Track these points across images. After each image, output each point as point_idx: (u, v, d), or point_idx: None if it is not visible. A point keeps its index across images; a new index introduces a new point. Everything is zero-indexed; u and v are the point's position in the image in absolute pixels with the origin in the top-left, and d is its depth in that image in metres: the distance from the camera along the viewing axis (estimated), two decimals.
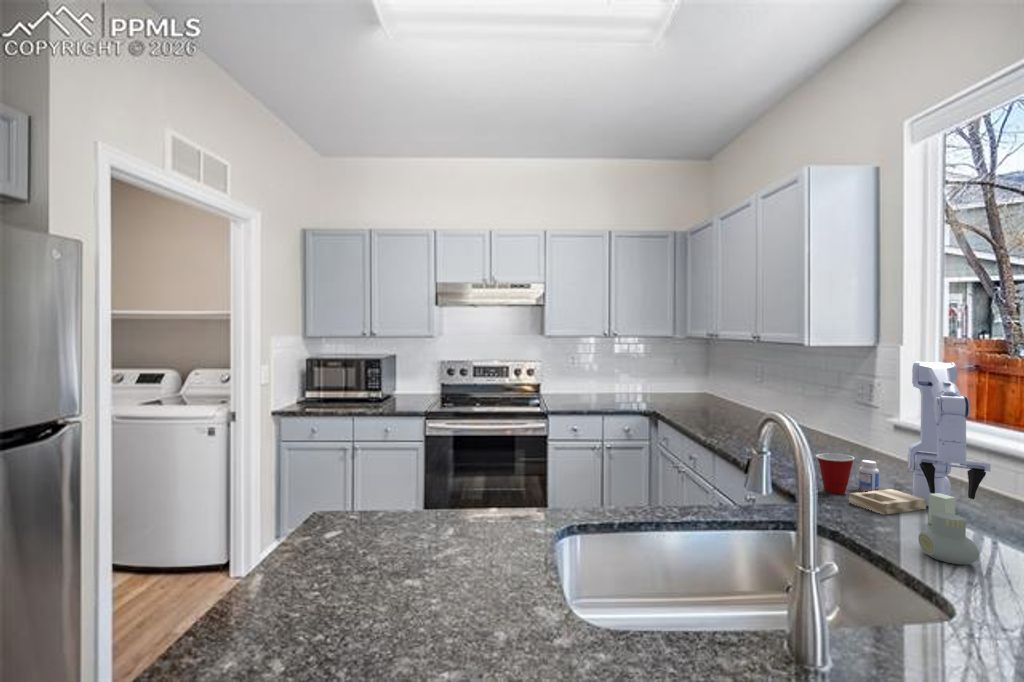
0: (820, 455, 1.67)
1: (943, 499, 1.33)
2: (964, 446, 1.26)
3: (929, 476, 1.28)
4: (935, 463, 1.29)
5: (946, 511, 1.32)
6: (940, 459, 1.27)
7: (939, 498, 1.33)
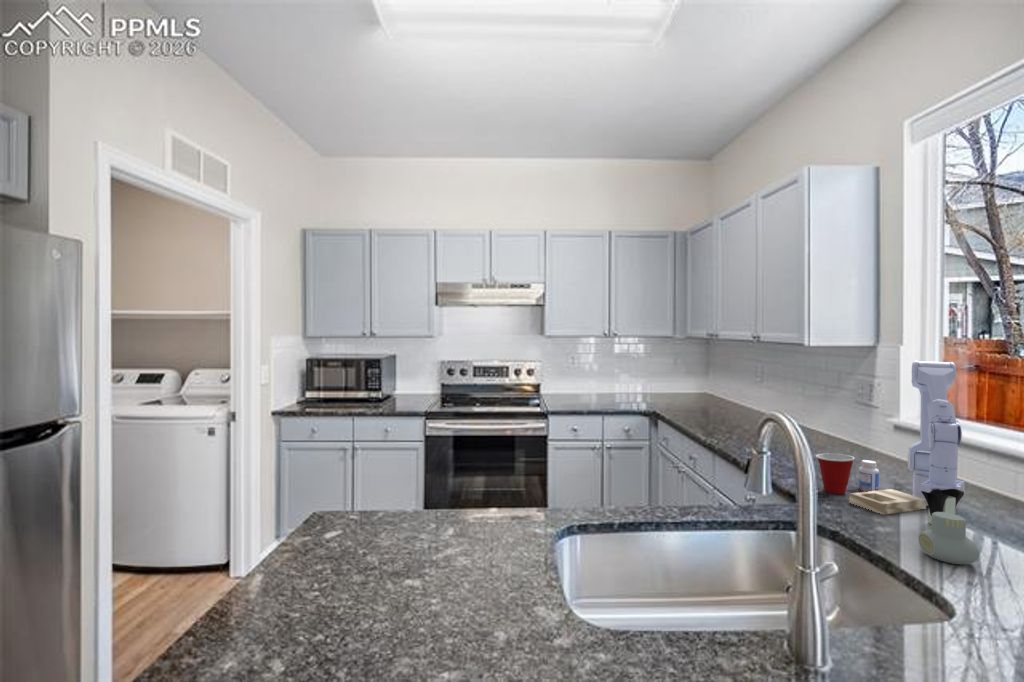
0: (820, 455, 1.67)
1: None
2: None
3: (941, 503, 1.32)
4: (935, 489, 1.33)
5: (946, 511, 1.32)
6: (945, 486, 1.32)
7: None
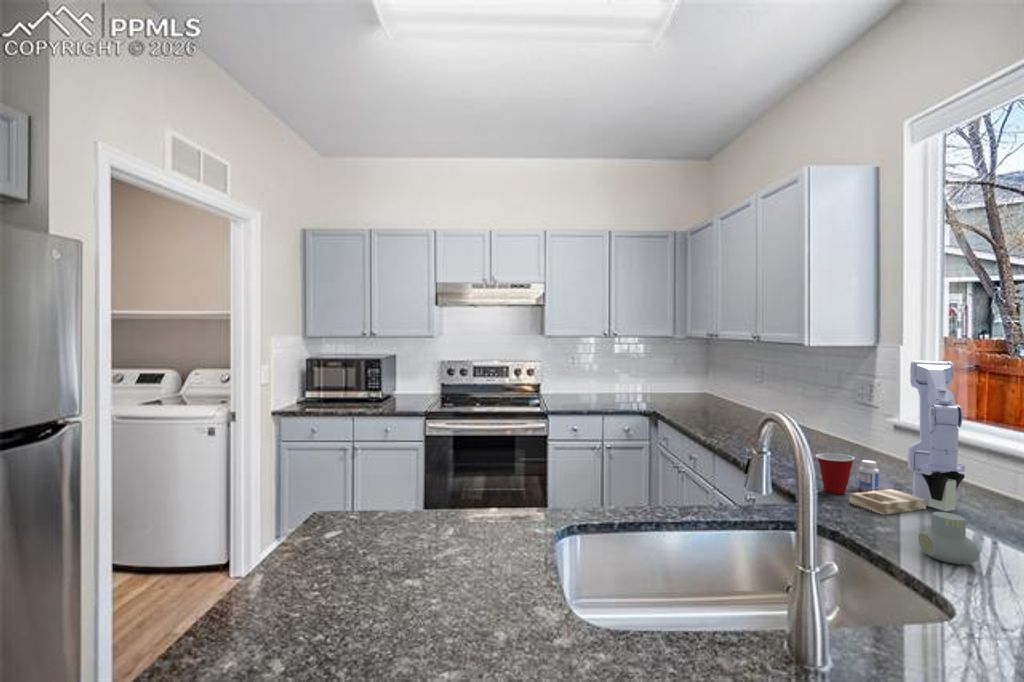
0: (820, 455, 1.67)
1: None
2: None
3: (942, 486, 1.32)
4: (936, 472, 1.33)
5: (947, 494, 1.32)
6: (946, 469, 1.32)
7: None
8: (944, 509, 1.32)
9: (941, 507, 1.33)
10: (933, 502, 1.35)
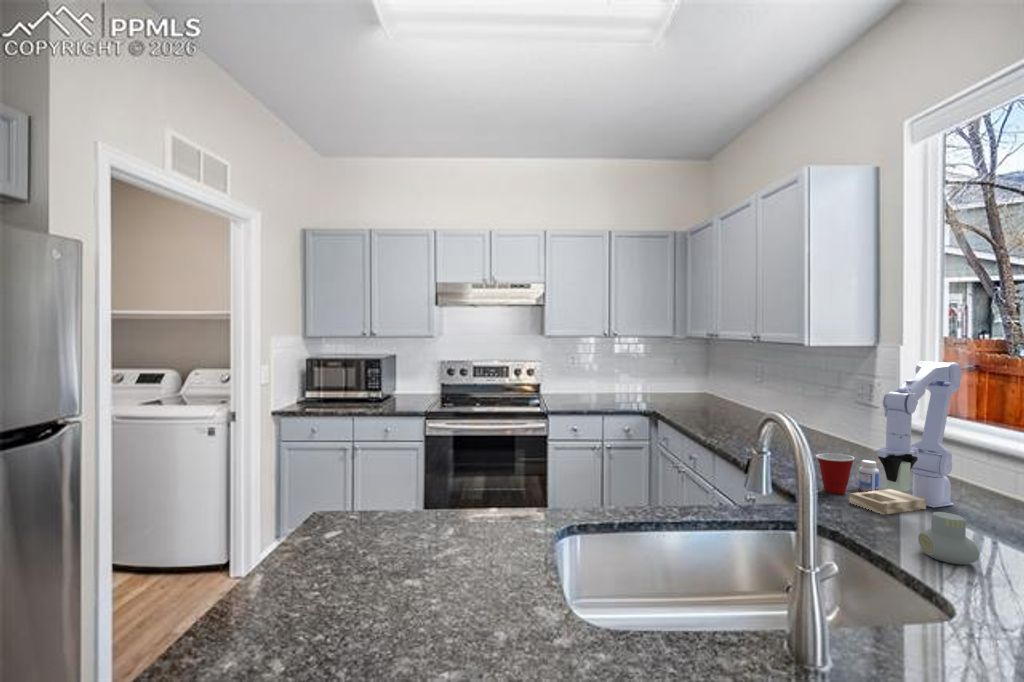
0: (820, 455, 1.67)
1: None
2: None
3: (896, 468, 1.41)
4: (891, 454, 1.42)
5: (901, 475, 1.41)
6: (900, 452, 1.41)
7: None
8: (899, 490, 1.41)
9: (896, 488, 1.42)
10: (889, 484, 1.44)
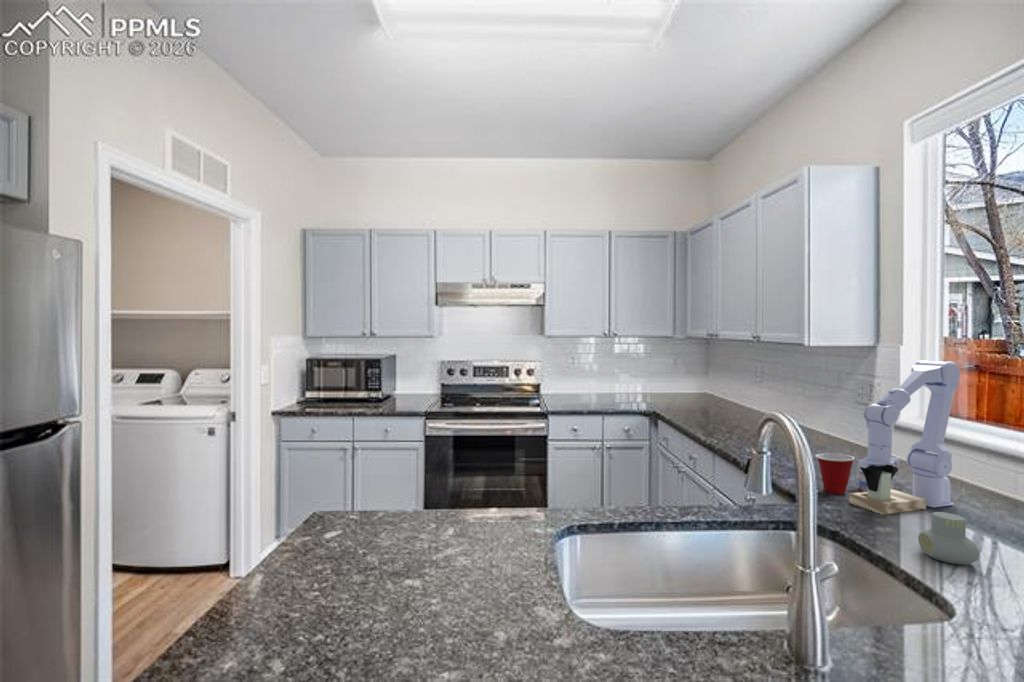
0: (820, 455, 1.67)
1: None
2: None
3: (877, 478, 1.45)
4: (872, 465, 1.47)
5: (882, 485, 1.45)
6: (880, 462, 1.45)
7: None
8: (880, 499, 1.45)
9: (877, 498, 1.46)
10: (871, 493, 1.48)
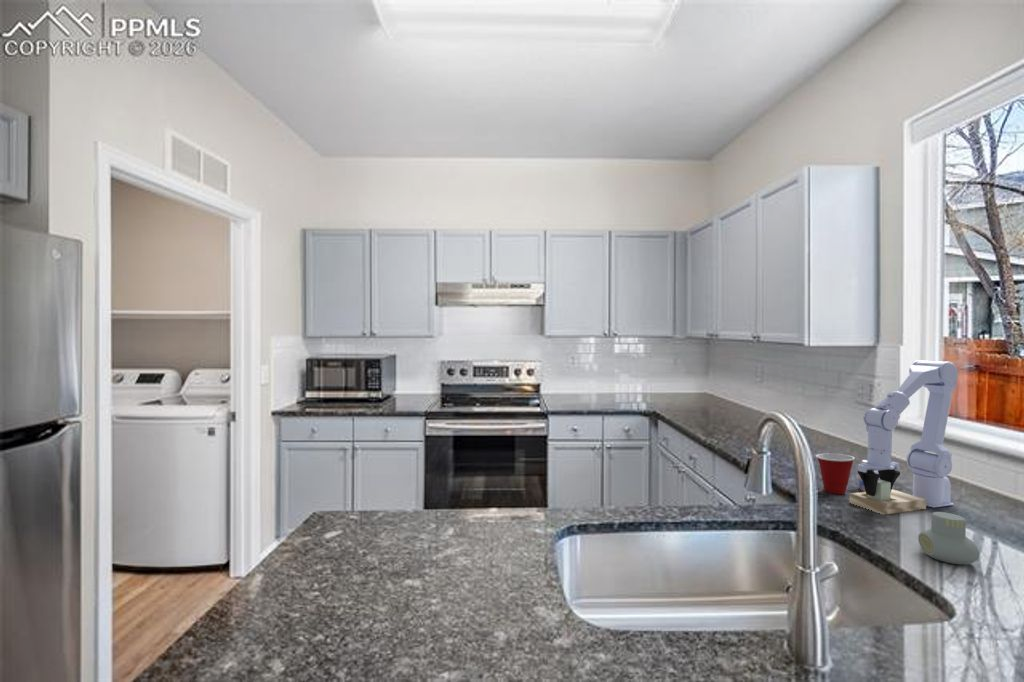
0: (820, 455, 1.67)
1: (879, 484, 1.46)
2: None
3: (874, 483, 1.45)
4: (872, 469, 1.47)
5: (882, 494, 1.45)
6: (880, 467, 1.45)
7: None
8: None
9: None
10: None
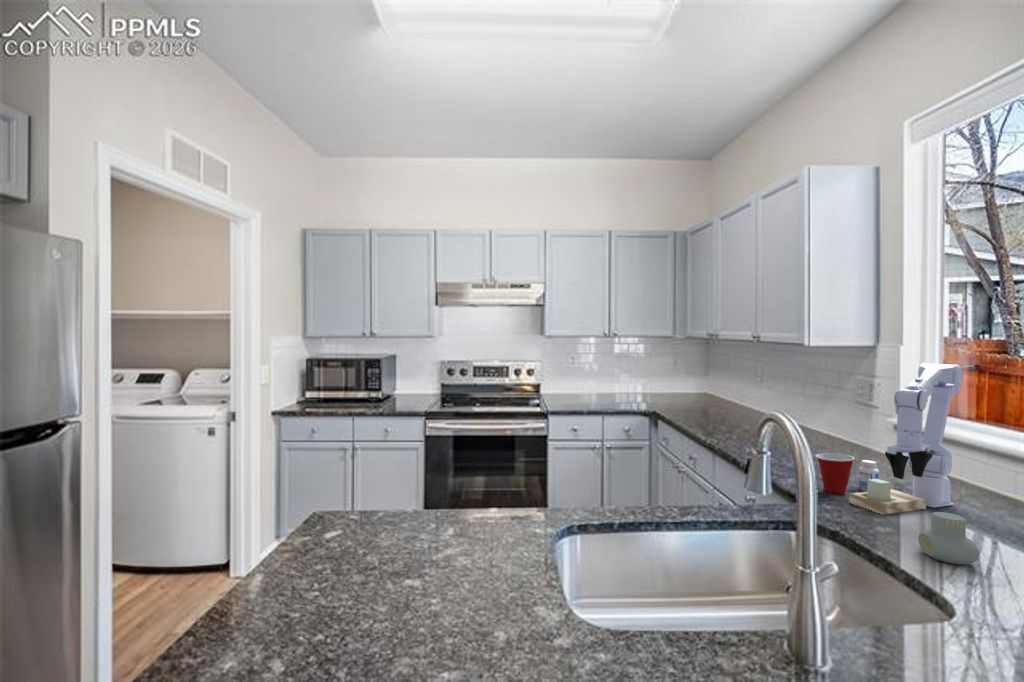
0: (820, 455, 1.67)
1: (879, 484, 1.46)
2: None
3: (903, 465, 1.41)
4: (902, 451, 1.43)
5: (882, 495, 1.45)
6: (910, 449, 1.41)
7: (876, 483, 1.47)
8: None
9: None
10: None
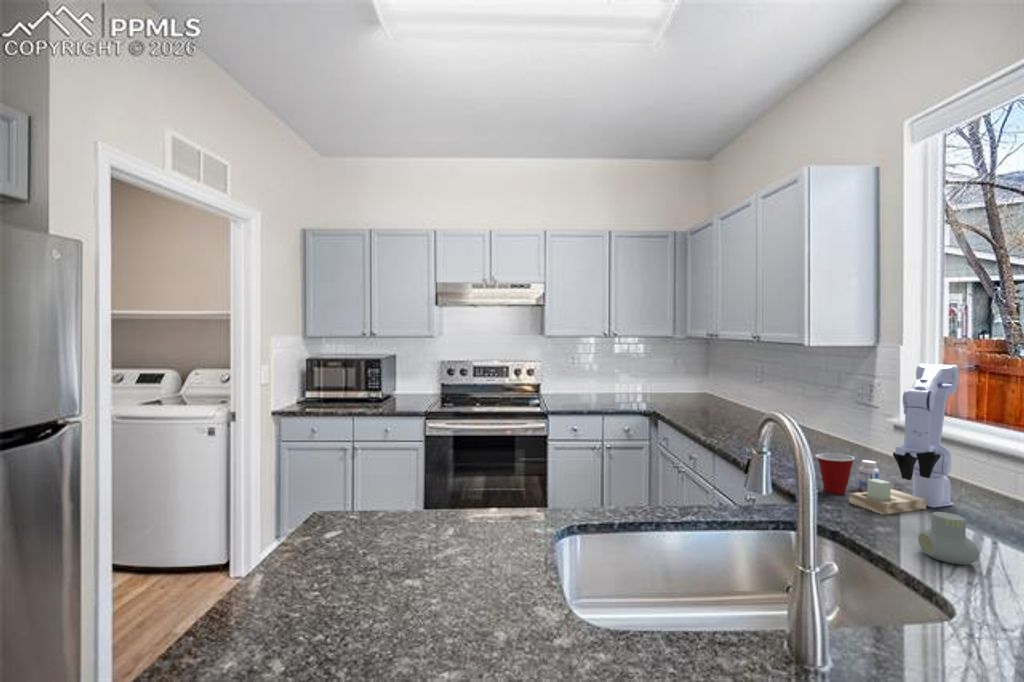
0: (820, 455, 1.67)
1: (879, 484, 1.46)
2: None
3: (911, 466, 1.40)
4: (910, 452, 1.41)
5: (882, 495, 1.45)
6: (919, 449, 1.40)
7: (876, 483, 1.47)
8: None
9: None
10: None
